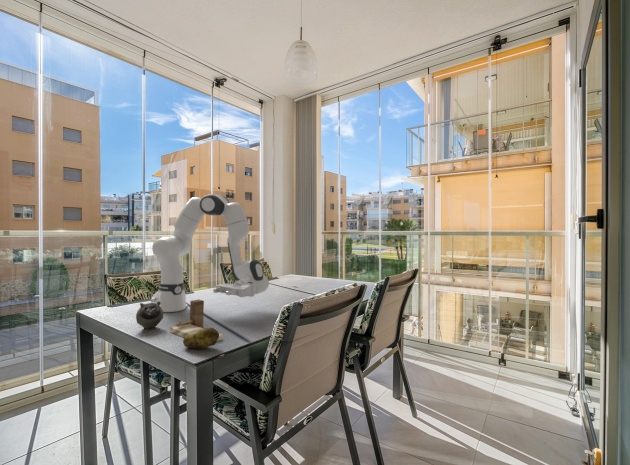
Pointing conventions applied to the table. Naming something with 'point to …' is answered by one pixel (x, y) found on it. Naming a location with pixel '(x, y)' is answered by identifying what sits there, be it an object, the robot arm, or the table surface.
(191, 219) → the robot arm
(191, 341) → the potato
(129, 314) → the table surface
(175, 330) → the plank
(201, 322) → the wooden block
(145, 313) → the round clay pot
